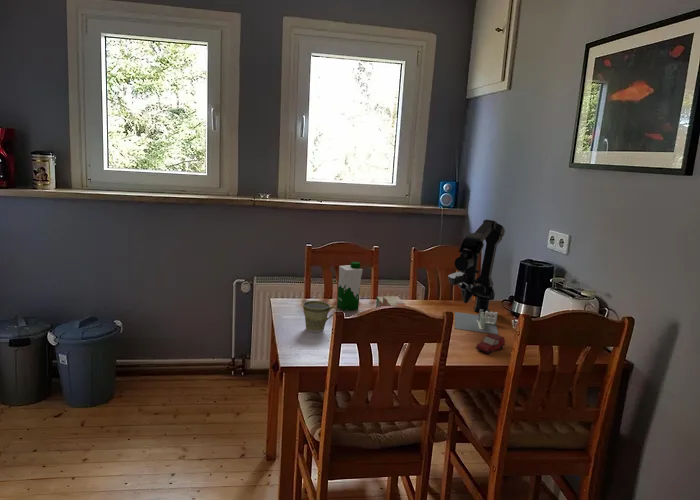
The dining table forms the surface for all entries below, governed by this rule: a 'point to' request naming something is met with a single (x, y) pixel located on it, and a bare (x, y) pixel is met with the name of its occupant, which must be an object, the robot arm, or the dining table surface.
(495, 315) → the fixed fence panel
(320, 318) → the ceramic cup
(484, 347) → the red toy car
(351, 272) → the milk carton
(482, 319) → the hinged fence panel
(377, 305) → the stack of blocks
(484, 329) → the mat
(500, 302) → the dining table surface
